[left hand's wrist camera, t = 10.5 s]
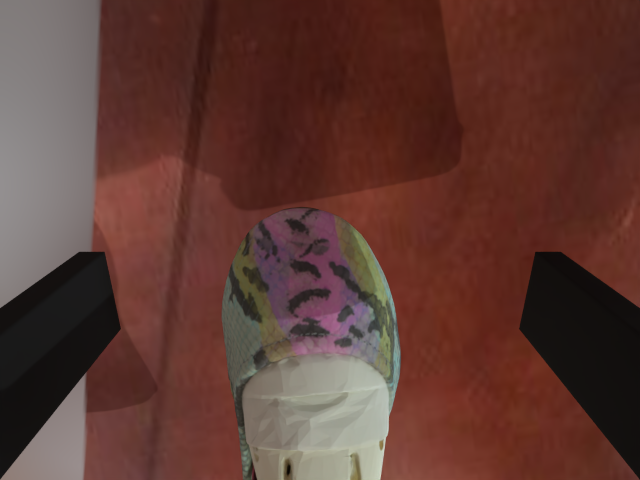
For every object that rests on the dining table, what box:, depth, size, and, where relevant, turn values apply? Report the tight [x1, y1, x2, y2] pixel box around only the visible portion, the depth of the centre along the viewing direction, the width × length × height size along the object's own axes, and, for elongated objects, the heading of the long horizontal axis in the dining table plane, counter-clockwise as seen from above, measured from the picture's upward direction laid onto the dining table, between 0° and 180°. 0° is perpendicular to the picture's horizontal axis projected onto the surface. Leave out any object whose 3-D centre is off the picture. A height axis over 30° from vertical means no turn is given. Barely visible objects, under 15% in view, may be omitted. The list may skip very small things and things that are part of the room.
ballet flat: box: [222, 207, 401, 480], centre depth 20 cm, size 8×24×9 cm, turn 177°
